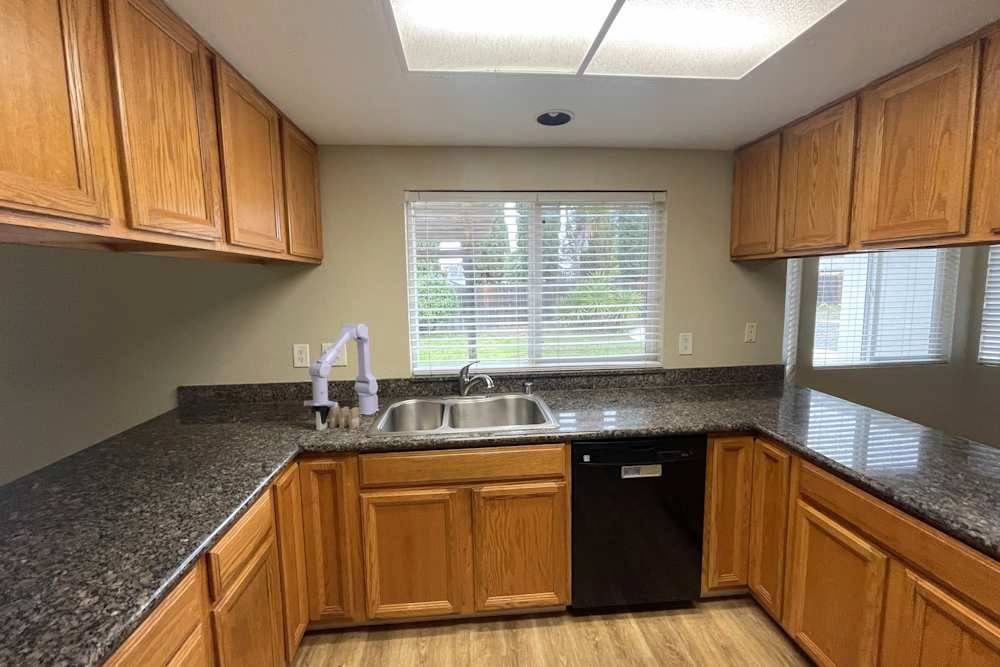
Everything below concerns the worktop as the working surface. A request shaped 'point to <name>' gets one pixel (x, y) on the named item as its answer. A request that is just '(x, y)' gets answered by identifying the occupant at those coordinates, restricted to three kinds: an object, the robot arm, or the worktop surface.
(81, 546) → the worktop surface
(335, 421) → the domino
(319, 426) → the domino
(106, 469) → the worktop surface
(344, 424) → the domino
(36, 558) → the worktop surface
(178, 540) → the worktop surface
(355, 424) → the domino
